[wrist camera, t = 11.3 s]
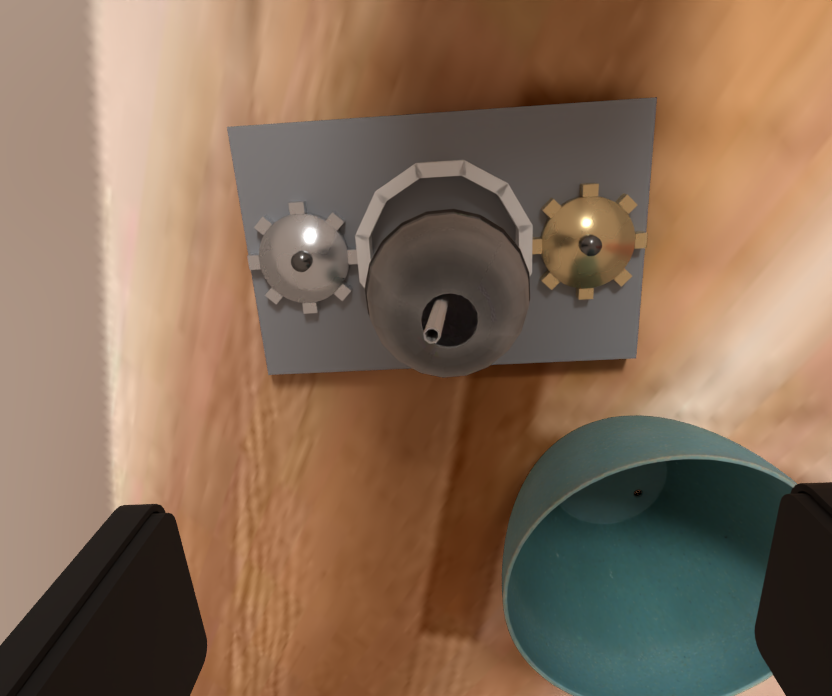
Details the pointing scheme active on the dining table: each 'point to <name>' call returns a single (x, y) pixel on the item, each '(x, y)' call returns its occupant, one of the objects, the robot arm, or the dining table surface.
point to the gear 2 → (588, 241)
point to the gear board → (439, 190)
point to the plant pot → (642, 560)
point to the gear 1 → (303, 257)
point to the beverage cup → (448, 292)
